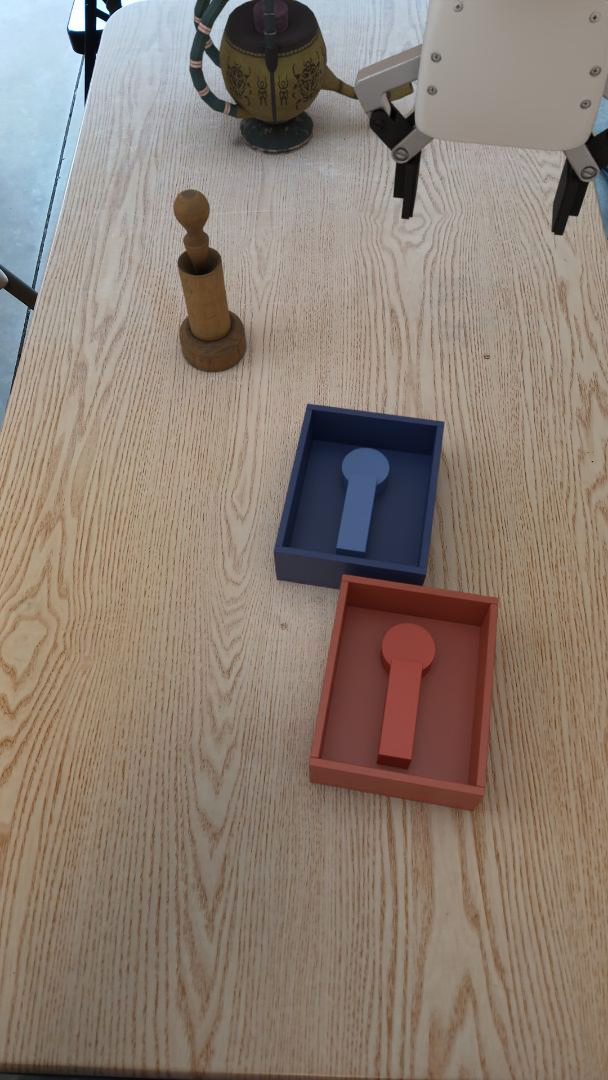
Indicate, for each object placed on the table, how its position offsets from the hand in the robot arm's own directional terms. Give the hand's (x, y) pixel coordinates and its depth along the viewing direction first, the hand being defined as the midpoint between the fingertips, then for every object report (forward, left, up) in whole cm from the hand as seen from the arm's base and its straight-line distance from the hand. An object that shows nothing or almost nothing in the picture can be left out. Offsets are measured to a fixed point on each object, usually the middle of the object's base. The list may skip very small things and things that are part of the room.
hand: (482, 212), depth 54 cm
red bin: (-14, +20, -26) cm, 36 cm away
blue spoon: (0, +10, -26) cm, 28 cm away
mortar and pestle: (+24, +6, -26) cm, 36 cm away
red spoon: (-14, +20, -26) cm, 36 cm away
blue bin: (0, +10, -26) cm, 28 cm away
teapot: (+42, -25, -26) cm, 56 cm away
